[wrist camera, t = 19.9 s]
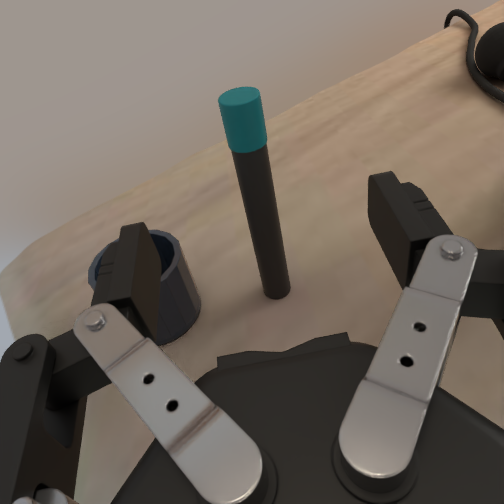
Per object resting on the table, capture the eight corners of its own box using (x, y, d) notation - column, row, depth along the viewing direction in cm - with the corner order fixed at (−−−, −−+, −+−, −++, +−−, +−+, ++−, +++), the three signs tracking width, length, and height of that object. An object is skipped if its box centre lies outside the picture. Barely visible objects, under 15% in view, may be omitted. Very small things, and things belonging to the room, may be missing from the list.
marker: (270, 275, 36) (231, 85, 25) (296, 282, 35) (267, 87, 24) (257, 295, 35) (209, 103, 24) (283, 303, 34) (246, 106, 22)
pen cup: (154, 272, 39) (130, 222, 35) (216, 292, 36) (198, 240, 32) (102, 330, 35) (68, 281, 31) (167, 359, 32) (139, 309, 28)
